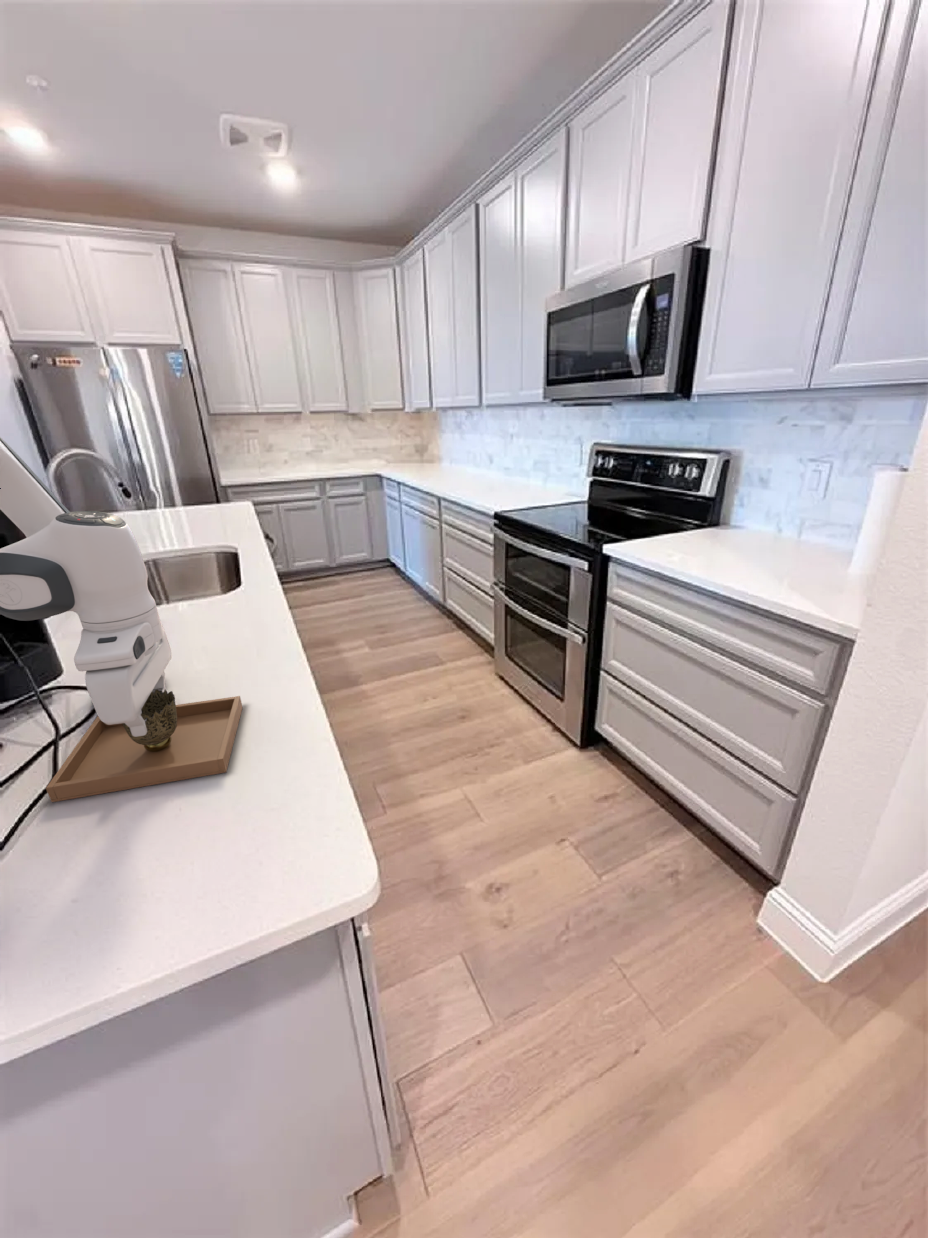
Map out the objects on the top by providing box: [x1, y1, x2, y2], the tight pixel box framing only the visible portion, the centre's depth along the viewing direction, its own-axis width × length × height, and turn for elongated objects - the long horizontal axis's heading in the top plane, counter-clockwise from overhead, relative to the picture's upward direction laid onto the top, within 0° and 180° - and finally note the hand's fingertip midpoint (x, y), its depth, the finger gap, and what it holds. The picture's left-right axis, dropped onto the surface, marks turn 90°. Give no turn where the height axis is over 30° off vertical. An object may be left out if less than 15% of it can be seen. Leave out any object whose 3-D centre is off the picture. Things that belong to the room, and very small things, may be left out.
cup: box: [122, 688, 177, 752], centre depth 76 cm, size 8×7×8 cm
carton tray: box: [45, 695, 243, 803], centre depth 77 cm, size 22×18×2 cm
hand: (151, 715), depth 75 cm, fingers open, 8 cm apart
